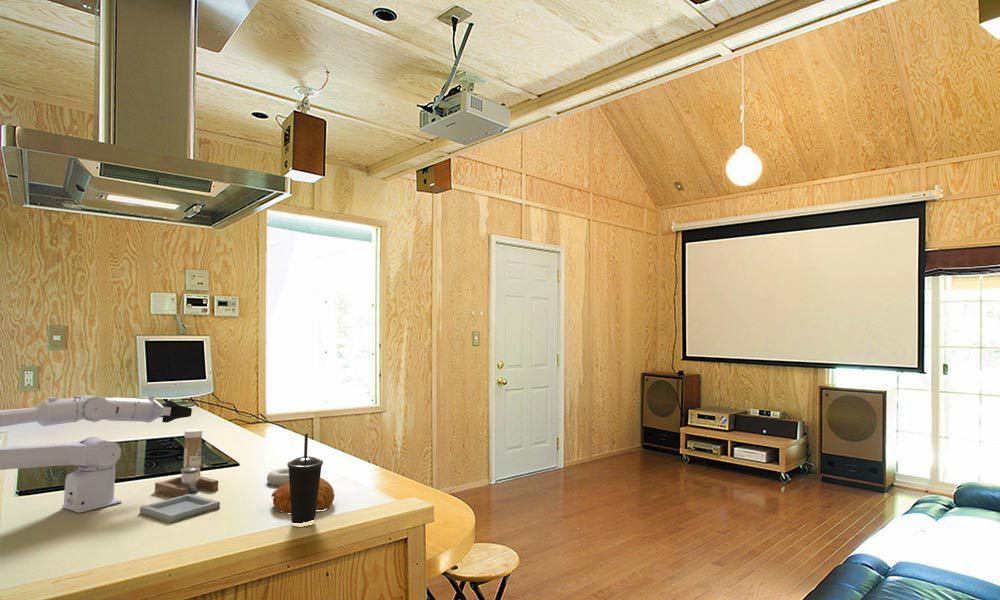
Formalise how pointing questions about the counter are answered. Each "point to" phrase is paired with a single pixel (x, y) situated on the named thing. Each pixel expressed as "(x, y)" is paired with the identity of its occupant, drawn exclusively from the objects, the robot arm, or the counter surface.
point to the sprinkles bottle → (192, 448)
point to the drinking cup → (304, 486)
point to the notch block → (175, 489)
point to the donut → (278, 476)
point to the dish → (179, 507)
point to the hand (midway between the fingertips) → (182, 411)
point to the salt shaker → (190, 479)
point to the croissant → (284, 503)
